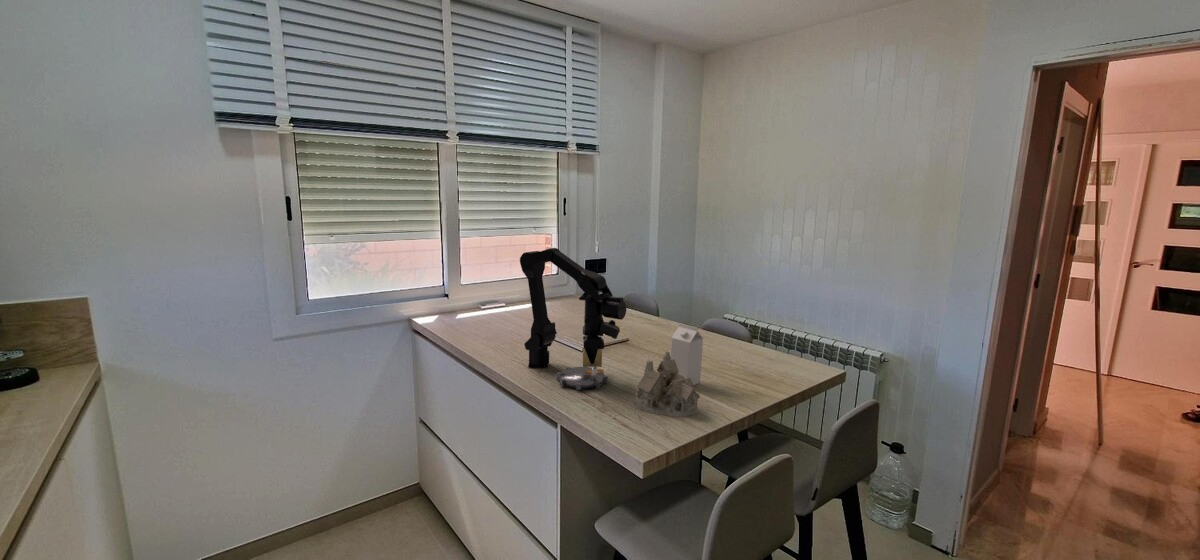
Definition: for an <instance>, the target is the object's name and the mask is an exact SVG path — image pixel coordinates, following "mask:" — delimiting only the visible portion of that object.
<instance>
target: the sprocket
mask: <svg viewBox="0 0 1200 560" xmlns="http://www.w3.org/2000/svg"><path fill="white" fill-rule="evenodd" d="M555 378H556V380H559V386H561V387H564V386H566V387H568V388H573V389H575V390H576V391H582V390H581V389H593V388H595V389H600V388H601V385H603V384H604V383H608V382H609V375H608V374H606V375H605V372H604V369H602V368H598V367H583V366H573V367H571V366H566V367H565V369H564V370H561V371H557V372H556V377H555Z"/></svg>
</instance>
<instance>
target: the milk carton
mask: <svg viewBox="0 0 1200 560" xmlns="http://www.w3.org/2000/svg"><path fill="white" fill-rule="evenodd" d="M698 329H699V328H698V327H696V326H691V325H689V324H688V325H687V324H683V323H680V322H679V323H678V327H677V328H676V330H675V332H674V333H673V334H672V336H671V345H670V346H671V347H670V348H671V349H670V357H671V360H672V359H674V360H675V363H676V365H677V368H678V371H679V372H678V374H680V375H682V376H684V378H687V377H688V376H689V377H691V380H692V383H693V385H694V386H696V385H698V384H700V383H701V374H702V373H701V371H702V359H703V347H704V346H703V345H704V344H703V343H704V338H703V336H702V335H701V333H700V332H699V330H698Z"/></svg>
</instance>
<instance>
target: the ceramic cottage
mask: <svg viewBox="0 0 1200 560" xmlns="http://www.w3.org/2000/svg"><path fill="white" fill-rule="evenodd" d="M678 372H679V371H678V368H677V365H676V363H675V360H674V359H672V360H671V352H670V351H669V350H668V351H665V352H664V355H663V357H662V360H661V361H660V363H659V365H658V366H657V369H656V370H655V369H654V362H653V360H650V359H649V360H646V364H645V369H644V373H643V376H642V378H641V379H640V381H639V382H638V384H636V387H637V388H638V389H637V391H636V394H635V395H634V399H633V403H632V404H633V406H634V407H635V408H636V409H638V410H640V411H643V412H645V413H650V414H655V415H656V414H657V415H664V416H668V417H669V416H670V417H676V418H688V417H689V416H694V415H697V414H699V408H698V403H699V402H698V401H699V399H700V398H701V395H700V394H699V393H698V392H697V390H696V387H695V385H693V383H692V380H691V377H689V376H688V377H687V378H684V376H682V375H680V374H678Z"/></svg>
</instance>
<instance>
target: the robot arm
mask: <svg viewBox="0 0 1200 560" xmlns="http://www.w3.org/2000/svg"><path fill="white" fill-rule="evenodd" d="M549 262H550V263H552V264H553V265H555V266H556V267H557V268H558V269H560V270H561V271H562V272H564V273H565V274H566V275H567V276H569V277H570V278H572V279H573V280H574V281H575V282H576V283H577V286H578V288H579V289H581V290H582V292H583V293H582V295H581V296H580V297H578V300H579V301H584V317H583V318H584V319H583V320H584V322H583V323H584V324H583V326H582V335H584V336H582V339H583V345H582V346H583V348H585V351H586V353H587V356H588V358H589V361H590V364H594V362H595V358H596V354H597V351H598V349H602V350H603V349H605V339H604V338H602V337H604V335H605V336H608V337H610V338H612V339H614V340H617V339H618V336H619V333H620V332H621V329H620V327H619V325H616V321H615V320H621V321H622V320H624V318H625V317H626V313H627V306H626V305H627V304H626V303H625V301H624V297H623V296H619V297H618V296H614V294H613V293H612V292H611V290H610V287H609V286H608V284H607V279H606V278H605V277H604V276H603V275H602V274H599V273H597V272H594V271H592V270H588V269H585V268H584V267H582V266H581V265H580V264H578V262H576V261H574V260H573V259H572V258H570V257H568V256H567V255H566V254H564V253H563V252H562V251H561V250H560V249H559V248H556V247H552V248H551V247H550V248H549V247H548V248H546V249H544V250H535V251H527V252H523V253H522V254H521V255H520V257H519V264H520V268H521V271H522V273H523V274H524V276H525V277H526V278H527V283H528V290H529V297H530V303H531V310H532V318H533V320H532V321H533V322H532V324H531V328H530V337H529V338H528V339H527V341H525V342H524V348H525V350H526V351H528V365H527V368H536V369H537V368H539V369H543V368H544V369H546V368H548V366H549V365H550V350H549V348H548V347H551V346H552V344H553V342H554V341H555V339H556V334H558V333H557V330H556V323H555V322H554V321H553V322H552V321H551V320H550V319H549V317H548V316H549V315H548V308H547V302H546V300H547V299H546V295H545V294H546V293H545V288H544V287H545V286H544V280H543V276H544V272H545V271H546V270H545V269H546V263H549ZM604 318H608V319H610V320H608V321H604ZM614 319H615V320H614Z"/></svg>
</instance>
